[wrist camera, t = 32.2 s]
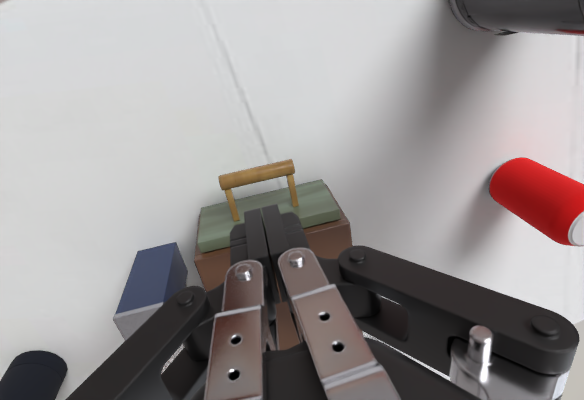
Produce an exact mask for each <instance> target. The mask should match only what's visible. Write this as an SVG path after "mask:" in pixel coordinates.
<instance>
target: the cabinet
mask: <svg viewBox="0 0 584 400" xmlns="http://www.w3.org/2000/svg"><path fill="white" fill-rule="evenodd" d="M325 186H326V187H327V189H328V191H329V192H330V194H331V196H332V197H333V199H334V201H335V202H336V204H337V206H338V207H339V209H340V217H341V219H339V220H335V221H331V222H329V223H327V224H323V225H319V226H314V227H310V228H306V229H303V230H304V233H305V236H306V238H307V241H308V244H309V246H310V249H311V251H313V252H314V254H315V255H316V256H318V257H321V258H326V259H338V256H339V254H340V253H341V252H342V251H343V250H345V249H346V248H349V247H352V238H351V229H350V223H349V221H348V219H347V218H346V216H345V214H344V213H343V211H342V210H341V208H340V206H339V205H338V203H337V201H336V200H335V198H334V196H333V195H332V193H331V191H330V190H329V188H328V186H327V185H326V184H325ZM200 215H201V214H200ZM199 224H200V216H199ZM199 224H198V232H197V241H196V249H195V260H194V262H195V265H196V267H197V270H198V272H199V275H200V278H201V280H202V283H203V285H204V288H205V290H206V292H208V291H210V290H212V289H214V288H216V287H217V286H219V285H221V284H222V283H223V282H224V281H225V275H226V272H227V271H228V269H229V268H230V267H231V263H230V247H229V248H225V249H221V250H217V251H214V250H213V251H209V252H205V253H201V252H200V249H199V247H198V244H197V242H198V233H199ZM275 275H276V274H275ZM276 280H277V278H276ZM277 286H278V282H277ZM278 291H279V296H280V301H281V303H279V304H275V305H276V311H277V314H276V317H277V321H278V333H279V346H280V350H287V349H290V348H291V347H293V346H295V345H297V344H299V340H298V337H297V334H296V331H295V328H294V325H293V322H292V319H291V315H290V311H289V307H288V303H287V302H282V298H281V294H280V290H279V286H278ZM360 331H361V333H362V330H360ZM362 335H363V333H362Z"/></svg>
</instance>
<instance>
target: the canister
mask: <svg viewBox="0 0 584 400" xmlns="http://www.w3.org/2000/svg"><path fill="white" fill-rule="evenodd" d="M187 272H188V271H187V268H186V266H185V263H184V261H183V259H182V256H181V254H180V251H179V249H178V246H177V244H176V242H174V243H170V244H166V245H162V246H158V247H154V248H150V249H145V250H141V251H138V253H137V255H136V258H135V261H134V264H133V266H132V269H131V272H130V275H129V278H128V280H127V283H126V286H125V289H124V291H123V294H122V297H121V300H120V303H119V305H118V308H117V311H116V314H115V315H114V317H113V321H114V322H115V324H116V326H117V327H118V329H119V331H120V332H121V334H122V336H123V337H124V339H125V341H126V340H127V339H128V338H129V337H130V336H131V335H132V334H133V333H134V332H135V331H136V330H137V329H138V328H139V327H140V326H141V325H142V324H143V323H144V322H145V321H146V320H148V319H149V318H150V317H151V316H152V315H153V314H154V313H155V312H156V311H157V310H158V309H159V308H160V307H161V306H162V305H163V304H164V303H165V302H166V301H167V300H168V299H169V298H170V297H171V296H172V295H173V294H174V293H176V292H177V291H179V290H181V289H183V288H185V286H186V279H187Z"/></svg>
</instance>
